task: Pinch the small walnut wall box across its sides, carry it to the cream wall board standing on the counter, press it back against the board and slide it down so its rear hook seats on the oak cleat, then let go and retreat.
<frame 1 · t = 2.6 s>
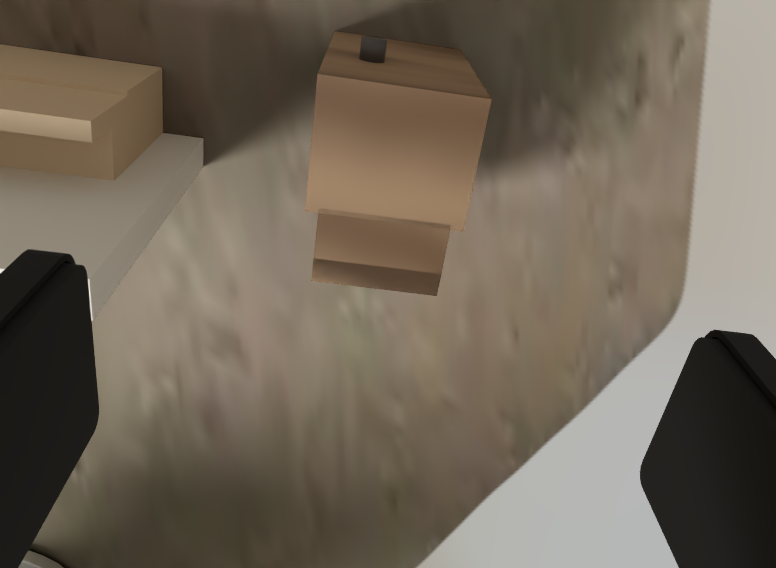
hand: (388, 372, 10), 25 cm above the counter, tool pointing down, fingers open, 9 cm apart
wall box: (390, 93, 33), on the counter
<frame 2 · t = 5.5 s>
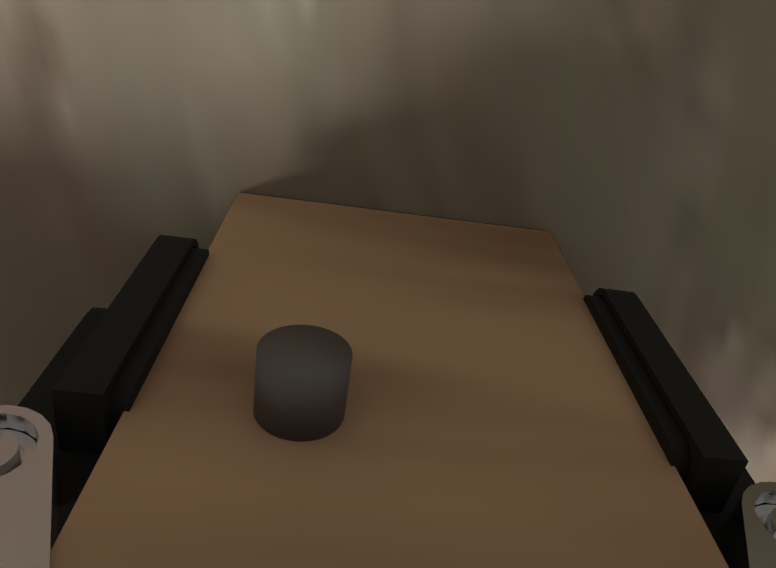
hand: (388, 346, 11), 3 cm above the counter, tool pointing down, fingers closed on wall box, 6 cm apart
wall box: (379, 322, 14), on the counter, touching gripper
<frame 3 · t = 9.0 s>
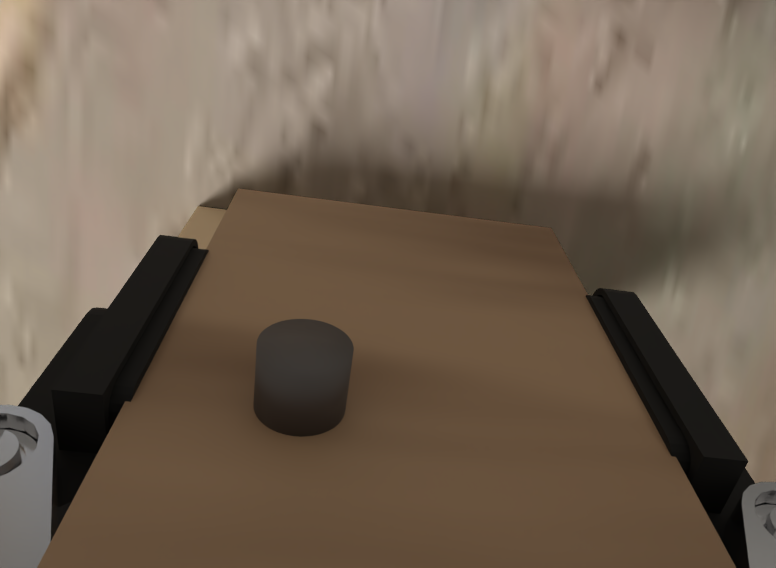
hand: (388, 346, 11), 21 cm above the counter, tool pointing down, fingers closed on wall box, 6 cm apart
wall board: (355, 283, 34), on the counter
wall box: (380, 319, 14), point 18 cm above the counter, touching gripper
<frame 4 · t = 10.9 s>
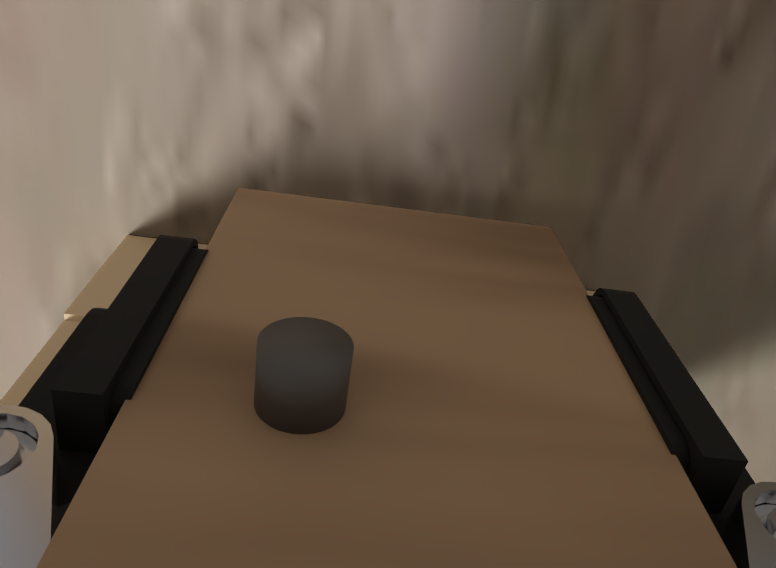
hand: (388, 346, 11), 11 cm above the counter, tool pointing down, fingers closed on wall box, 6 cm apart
wall board: (357, 342, 24), on the counter
wall box: (380, 318, 14), point 8 cm above the counter, touching gripper
when the fingers open (5 cm above the counter, at t = 12.5 s): wall box stays where it is, resting on wall board.
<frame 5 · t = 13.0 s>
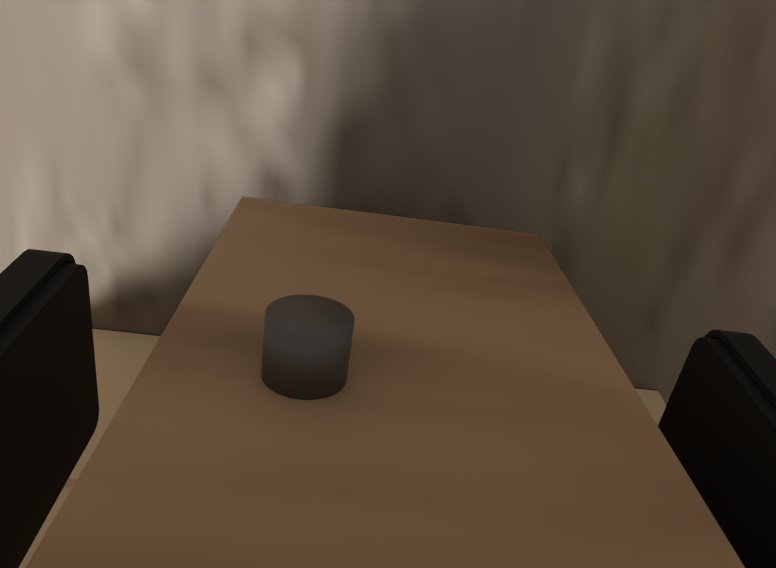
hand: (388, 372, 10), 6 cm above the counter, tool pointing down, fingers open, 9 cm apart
wall board: (351, 449, 19), on the counter
wall box: (377, 324, 14), point 2 cm above the counter, touching wall board
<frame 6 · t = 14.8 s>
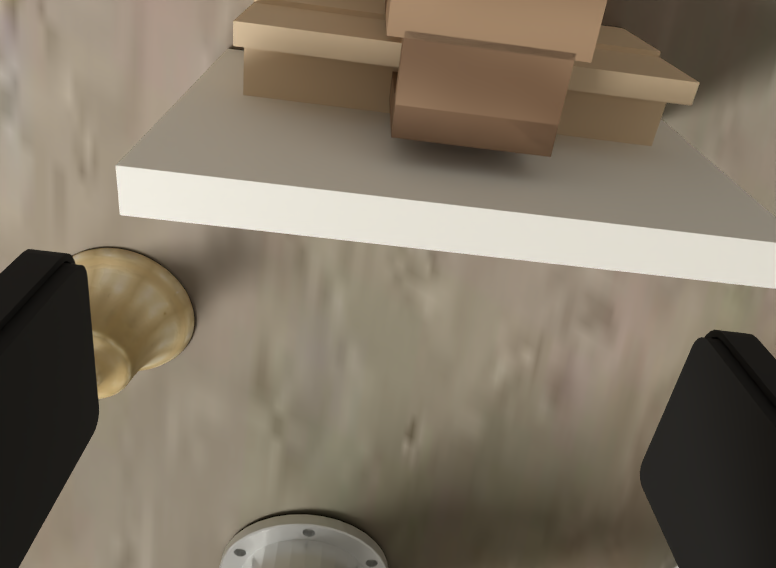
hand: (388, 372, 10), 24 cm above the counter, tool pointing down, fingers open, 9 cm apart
hand bell: (123, 308, 39), on the counter
wall board: (439, 76, 32), on the counter
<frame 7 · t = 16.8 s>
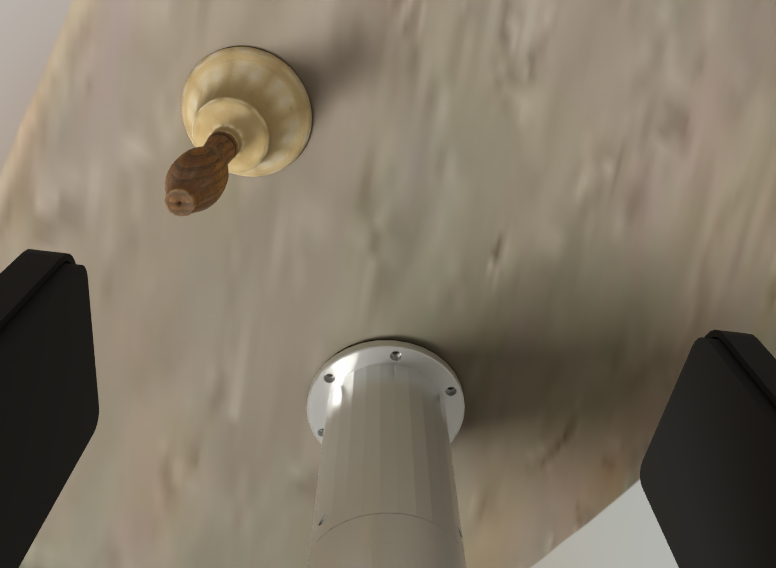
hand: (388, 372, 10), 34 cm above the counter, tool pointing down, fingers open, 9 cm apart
hand bell: (247, 113, 43), on the counter
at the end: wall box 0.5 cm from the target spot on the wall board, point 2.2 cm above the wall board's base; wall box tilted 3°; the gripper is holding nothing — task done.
